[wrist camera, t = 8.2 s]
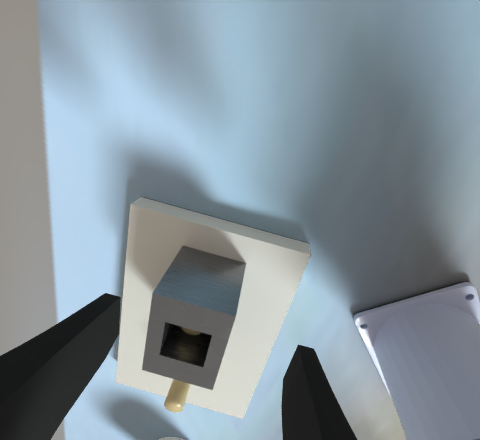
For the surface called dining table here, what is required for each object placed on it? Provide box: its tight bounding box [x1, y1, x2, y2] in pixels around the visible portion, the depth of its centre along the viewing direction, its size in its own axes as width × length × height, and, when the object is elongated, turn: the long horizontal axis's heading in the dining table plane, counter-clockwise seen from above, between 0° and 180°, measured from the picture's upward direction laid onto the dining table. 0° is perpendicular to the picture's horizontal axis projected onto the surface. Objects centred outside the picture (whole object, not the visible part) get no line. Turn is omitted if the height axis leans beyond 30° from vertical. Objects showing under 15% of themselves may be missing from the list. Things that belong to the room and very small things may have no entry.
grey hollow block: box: [142, 246, 246, 390], centre depth 18 cm, size 6×4×5 cm
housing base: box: [116, 197, 311, 419], centre depth 21 cm, size 18×12×5 cm, turn 166°
